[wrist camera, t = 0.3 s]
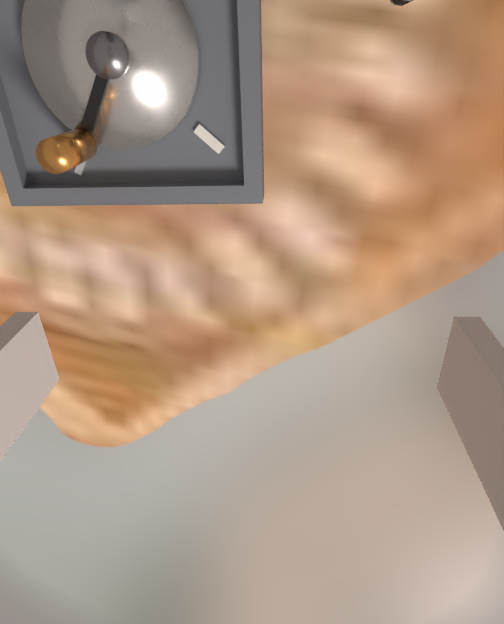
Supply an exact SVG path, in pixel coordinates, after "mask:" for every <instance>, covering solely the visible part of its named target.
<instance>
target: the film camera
mask: <svg viewBox="0 0 504 624" xmlns="http://www.w3.org/2000/svg"><path fill="white" fill-rule="evenodd" d="M390 1H391V2H392V3H393V4H394V5H399V6H403V5H405V4H407V3H409V2H411V1H413V0H390Z"/></svg>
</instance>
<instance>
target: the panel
mask: <svg viewBox="0 0 504 624" xmlns="http://www.w3.org/2000/svg"><path fill="white" fill-rule="evenodd" d="M24 2H25V0H0V170H1V173H2V176H3V179H4V183H5V186H6V189H7V192H8V195H9V199H10V202H11V205H12V206H71V205H163V204H255V203H263V198H264V167H263V105H262V42H261V0H185V2H186V4H187V6H188V8H189V11H190V13H191V15H192V18H193V21H194V23H195V26H196V30H197V34H198V38H199V45H200V52H201V70H200V80H199V84H198V89H197V92H196V95H195V98H194V101H193V103H192V105H191V107H190V109H189V111H188V113H187V114H186V116H185V117H184V119H183V120H182V121H181V122H180V124H179V125H178V126H177V127H176V128H175V129H174V130H173V131H171V132H170V133H169V134H168V135H166V136H165V137H163V138H161V139H160V140H158V141H156V142H154V143H152V144H149V145H147V146H144V147H140V148H135V149H114V148H108V147H104V146H101V145H98V144H97V152H96V154H95V156H94V157H93V158H91V159H89V160H87V161H85V162H83V163H81V164H79V165H77V166H75V167H73V168H71V169H69V170H67V171H65V172H63V173H61V174H53V173H50V172H48V171H46V170H45V169H44V168H42V166H41V165H40V164H39V162H38V160H37V158H36V147H37V145H38V143H39V142H40V141H41V140H43V139H46V138H49V137H52V136H55V135H59V134H62V133H65V132H68V131H71V130H70V129H69V128H68V127H67V126H65V125H64V124H63V123H62V122H61V121H60V120H59V119H58V118H57V117H56V116H55V115H54V113H53V112H52V111H51V110H50V109H49V108H48V106H47V105H46V103H45V102H44V100H43V99H42V97H41V96H40V94H39V92H38V90H37V88H36V87H35V85H34V83H33V80H32V78H31V75H30V73H29V70H28V67H27V64H26V60H25V56H24V51H23V46H22V34H21V23H22V12H23V6H24Z"/></svg>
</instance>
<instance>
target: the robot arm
mask: <svg viewBox="0 0 504 624" xmlns="http://www.w3.org/2000/svg"><path fill="white" fill-rule="evenodd" d="M58 380H59V377H58V374H57V370H56V367H55V364H54V361H53V358H52V355H51V351H50V348H49V345H48V342H47V339H46V336H45V332H44V329H43V326H42V323H41V320H40V317H39V313H38V312H15V313H14V314H13V315H12V316H11V317H10V318H9V319H8V320H7V321H5V322H4V323H3V324H2V325H1V326H0V462H1V460H2V459H3V457H4V456H5V455H6V453H7V452H8V451H9V449H10V448H11V446H12V445H13V443H14V442H15V441H16V439H17V438H18V436H19V435H20V434H21V432H22V430H23V429H24V428H25V427H26V425H27V424H28V422H29V421H30V420H31V418H32V417H33V415H34V414H35V413H36V411H37V410H38V408H39V407H40V406H41V404H42V403H43V401H44V400H45V399H46V397H47V396H48V394H49V393H50V392H51V390H52V389H53V387H54V386H55V384H56V383H57V382H58ZM437 388H438V391H439V392H440V395H441V397H442V399H443V401H444V403H445V406H446V408H447V410H448V412H449V414H450V416H451V418H452V421H453V423H454V425H455V427H456V429H457V431H458V433H459V436H460V438H461V440H462V442H463V444H464V446H465V449H466V451H467V453H468V455H469V457H470V459H471V461H472V463H473V465H474V468H475V470H476V472H477V474H478V477H479V479H480V481H481V483H482V485H483V487H484V489H485V492H486V494H487V496H488V498H489V500H490V502H491V504H492V506H493V509H494V511H495V513H496V515H497V517H498V519H499V522H500V524H501V526H502V528H503V530H504V348H503V346H502V345H501V344H500V342H499V341H498V340H497V339H496V337H495V336H494V335H493V333H492V332H491V331H490V329H489V328H488V327H487V325H486V324H485V323H484V321H483V320H482V319H481V318H480V317H454V319H453V323H452V327H451V331H450V336H449V340H448V344H447V348H446V352H445V357H444V361H443V365H442V369H441V373H440V377H439V382H438V386H437Z"/></svg>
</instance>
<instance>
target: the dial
mask: <svg viewBox="0 0 504 624" xmlns="http://www.w3.org/2000/svg"><path fill="white" fill-rule="evenodd" d="M21 34H22V46H23V51H24V56H25V60H26V64H27V67H28V70H29V73H30V75H31V78H32V80H33V83H34V85H35V87H36V88H37V90H38V92H39V94H40V96H41V97H42V99H43V100H44V102H45V103H46V105H47V106H48V108H49V109H50V110H51V111H52V112H53V113H54V115H55V116H56V117H57V118H58V119H59V120H60V121H61V122H62V123H63V124H64V125H65V126H67V127H68V128H69V129H70V130H71V131H68V132H65V133H62V134H59V135H55V136H52V137H49V138H46V139H43V140H41V141H40V142H39V143H38V145H37V147H36V158H37V160H38V162H39V164H40V165H41V166H42V168H44V169H45V170H46V171H48V172H50V173H53V174H61V173H63V172H65V171H67V170H69V169H71V168H73V167H75V166H77V165H79V164H81V163H83V162H85V161H87V160H89V159H91V158H93V157H94V156H95V154H96V152H97V144H98V145H101V146H104V147H108V148H114V149H135V148H140V147H144V146H147V145H149V144H152V143H154V142H156V141H158V140H160V139H161V138H163V137H165V136H166V135H168V134H169V133H170V132H171V131H173V130H174V129H175V128H176V127H177V126H178V125H179V124H180V122H181V121H182V120H183V119H184V117H185V116H186V114H187V113H188V111H189V109H190V107H191V105H192V103H193V101H194V98H195V95H196V92H197V89H198V84H199V80H200V70H201V52H200V45H199V38H198V34H197V30H196V26H195V23H194V21H193V18H192V15H191V13H190V11H189V8H188V6H187V4H186V2H185V0H25V2H24V6H23V12H22V23H21Z"/></svg>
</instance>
